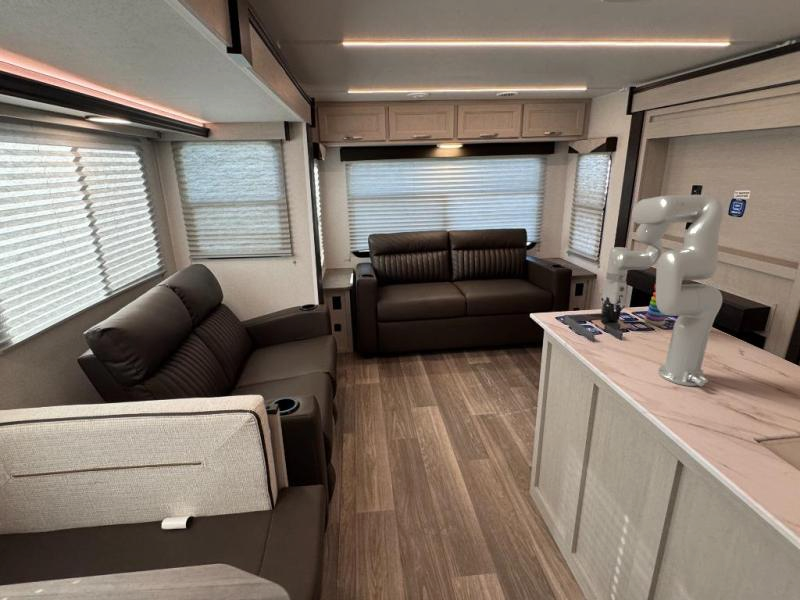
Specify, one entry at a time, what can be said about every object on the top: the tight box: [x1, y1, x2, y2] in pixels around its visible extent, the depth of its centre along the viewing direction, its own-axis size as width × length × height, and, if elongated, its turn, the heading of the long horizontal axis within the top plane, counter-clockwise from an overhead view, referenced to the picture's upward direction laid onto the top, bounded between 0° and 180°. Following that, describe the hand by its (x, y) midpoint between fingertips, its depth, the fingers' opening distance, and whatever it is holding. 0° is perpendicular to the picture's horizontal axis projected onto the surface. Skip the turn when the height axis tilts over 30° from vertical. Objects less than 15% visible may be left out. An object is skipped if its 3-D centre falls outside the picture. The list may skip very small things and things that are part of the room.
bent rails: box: [562, 312, 624, 342], centre depth 172 cm, size 22×18×3 cm
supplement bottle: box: [601, 297, 618, 324], centre depth 175 cm, size 7×7×12 cm
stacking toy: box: [643, 283, 666, 326], centre depth 176 cm, size 8×8×19 cm
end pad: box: [591, 319, 632, 330], centre depth 177 cm, size 10×12×1 cm
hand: (609, 316), depth 176 cm, fingers closed on supplement bottle, 6 cm apart
